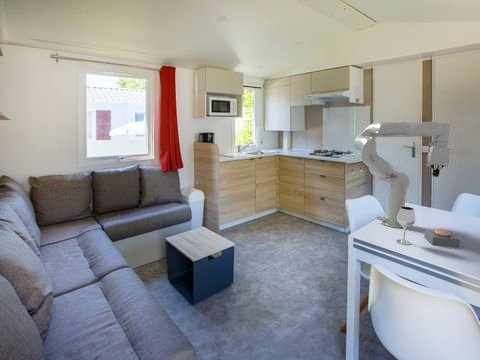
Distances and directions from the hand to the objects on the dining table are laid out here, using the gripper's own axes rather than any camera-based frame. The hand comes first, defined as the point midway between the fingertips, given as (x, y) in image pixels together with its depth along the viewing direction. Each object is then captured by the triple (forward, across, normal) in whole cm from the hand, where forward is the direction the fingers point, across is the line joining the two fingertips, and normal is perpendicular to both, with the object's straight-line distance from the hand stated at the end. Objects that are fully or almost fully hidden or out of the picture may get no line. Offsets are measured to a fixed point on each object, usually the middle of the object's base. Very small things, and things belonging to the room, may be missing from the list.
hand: (435, 176), depth 171 cm
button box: (+29, -5, -28) cm, 41 cm away
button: (+29, -5, -28) cm, 41 cm away
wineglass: (+29, -24, -33) cm, 50 cm away
